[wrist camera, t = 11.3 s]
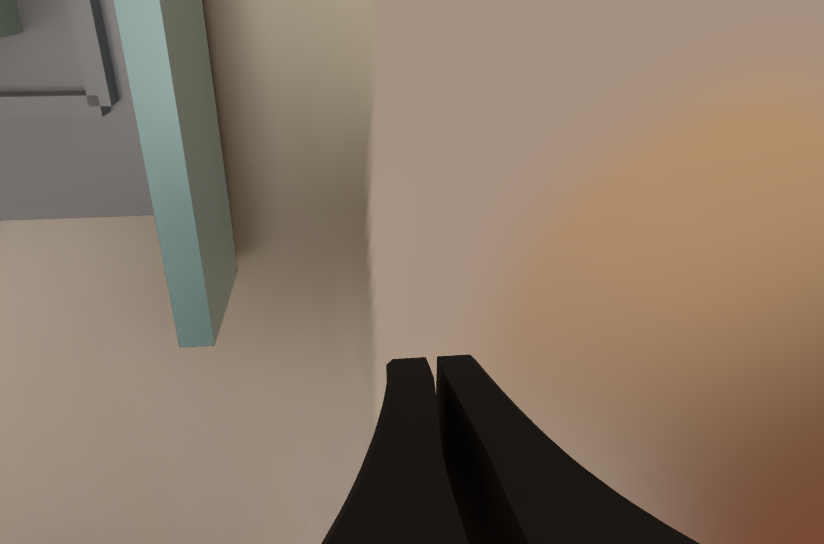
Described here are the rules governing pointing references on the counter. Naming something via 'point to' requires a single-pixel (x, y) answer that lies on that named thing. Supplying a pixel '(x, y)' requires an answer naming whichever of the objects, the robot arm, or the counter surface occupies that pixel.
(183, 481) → the counter surface
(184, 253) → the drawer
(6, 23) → the block
